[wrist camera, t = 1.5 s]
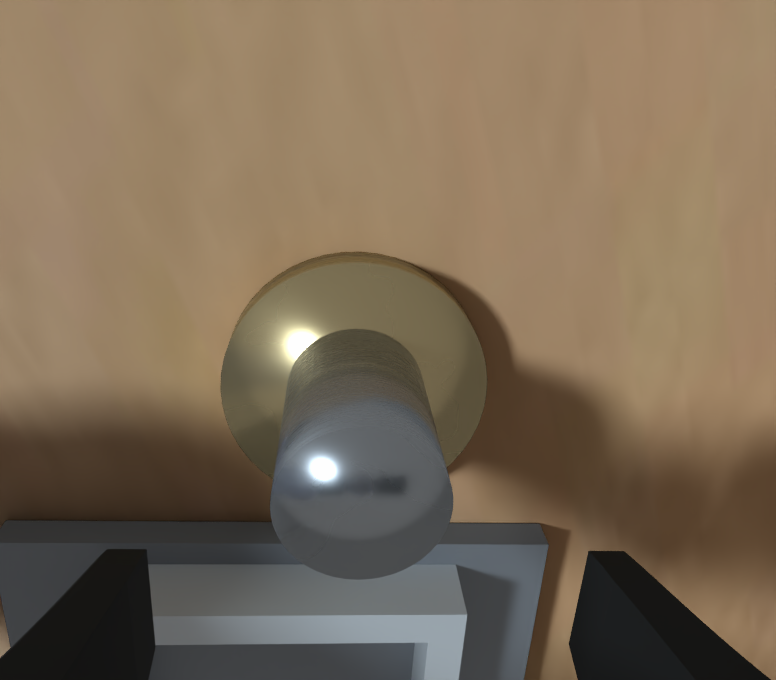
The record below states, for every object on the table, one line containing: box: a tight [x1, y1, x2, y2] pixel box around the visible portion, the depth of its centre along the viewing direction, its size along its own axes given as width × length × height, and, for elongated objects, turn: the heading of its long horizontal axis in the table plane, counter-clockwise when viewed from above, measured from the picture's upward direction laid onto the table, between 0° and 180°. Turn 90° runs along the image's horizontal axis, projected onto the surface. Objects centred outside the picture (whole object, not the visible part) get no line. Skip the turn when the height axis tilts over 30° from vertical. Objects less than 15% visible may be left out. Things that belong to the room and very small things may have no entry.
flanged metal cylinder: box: [221, 252, 487, 580], centre depth 16 cm, size 7×7×6 cm
